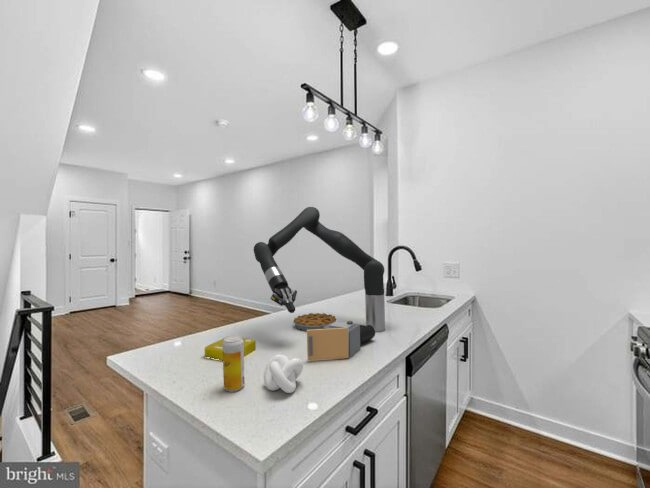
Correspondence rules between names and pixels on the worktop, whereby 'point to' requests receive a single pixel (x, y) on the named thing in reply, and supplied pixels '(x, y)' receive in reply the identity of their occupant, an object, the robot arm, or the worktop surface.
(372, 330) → the end cap
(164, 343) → the worktop surface
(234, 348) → the amber medicine vial
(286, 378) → the white decorative knot
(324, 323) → the pie
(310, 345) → the side door
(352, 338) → the grey matte box
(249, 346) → the element tile
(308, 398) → the worktop surface
